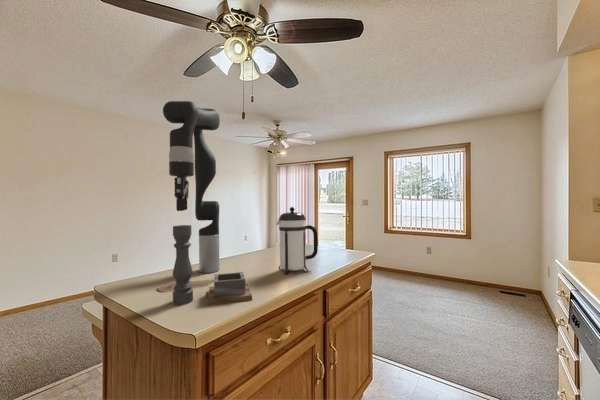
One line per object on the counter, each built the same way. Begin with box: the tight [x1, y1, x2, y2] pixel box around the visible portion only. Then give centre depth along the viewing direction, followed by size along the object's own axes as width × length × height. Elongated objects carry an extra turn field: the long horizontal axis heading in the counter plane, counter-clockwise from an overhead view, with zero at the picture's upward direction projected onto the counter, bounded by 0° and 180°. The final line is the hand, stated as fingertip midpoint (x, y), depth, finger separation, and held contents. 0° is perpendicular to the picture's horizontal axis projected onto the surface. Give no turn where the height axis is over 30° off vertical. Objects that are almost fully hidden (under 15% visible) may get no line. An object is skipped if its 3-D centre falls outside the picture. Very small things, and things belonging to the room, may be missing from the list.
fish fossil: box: [156, 279, 214, 293], centre depth 109 cm, size 26×10×1 cm, turn 125°
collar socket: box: [207, 271, 253, 306], centre depth 96 cm, size 14×14×6 cm
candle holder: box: [172, 224, 194, 306], centre depth 91 cm, size 6×6×25 cm
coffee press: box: [275, 206, 319, 275], centre depth 130 cm, size 17×16×30 cm
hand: (182, 210), depth 91 cm, fingers open, 8 cm apart
